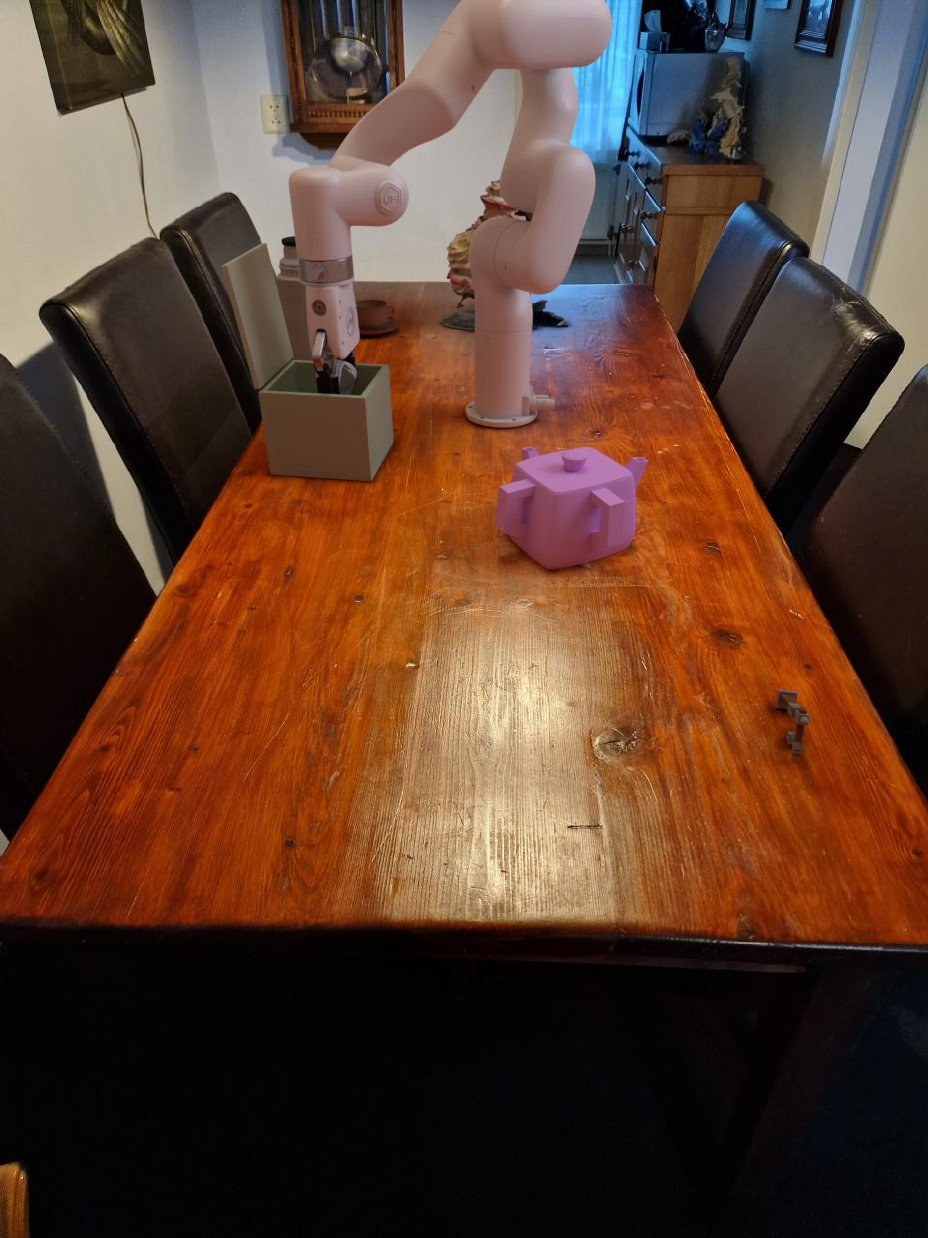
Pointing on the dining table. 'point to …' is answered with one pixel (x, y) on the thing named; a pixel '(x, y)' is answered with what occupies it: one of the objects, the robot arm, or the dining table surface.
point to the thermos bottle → (294, 302)
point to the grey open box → (327, 423)
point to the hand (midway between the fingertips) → (338, 392)
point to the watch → (345, 376)
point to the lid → (258, 313)
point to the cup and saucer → (375, 317)
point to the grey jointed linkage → (800, 716)
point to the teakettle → (570, 505)
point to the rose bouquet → (461, 264)
